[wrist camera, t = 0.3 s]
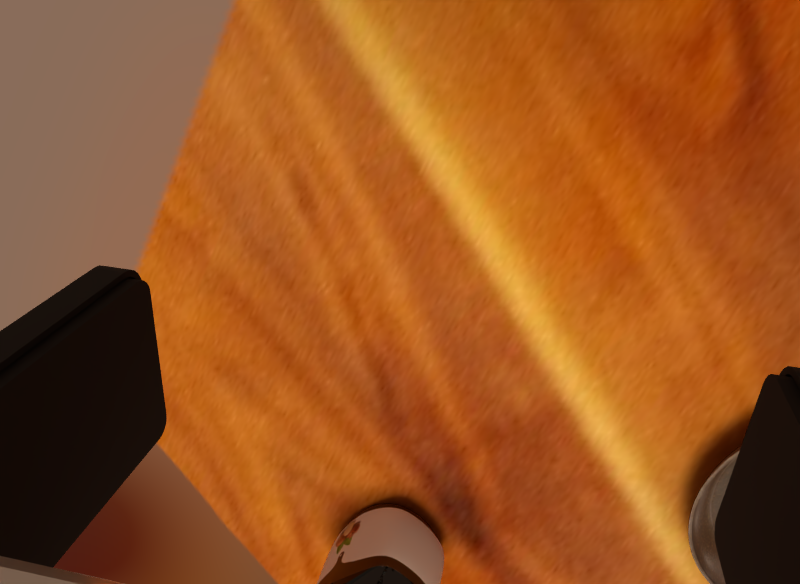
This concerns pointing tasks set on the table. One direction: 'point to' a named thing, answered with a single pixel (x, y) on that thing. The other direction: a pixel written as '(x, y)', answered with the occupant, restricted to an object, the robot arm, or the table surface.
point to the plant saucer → (709, 520)
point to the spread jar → (385, 550)
